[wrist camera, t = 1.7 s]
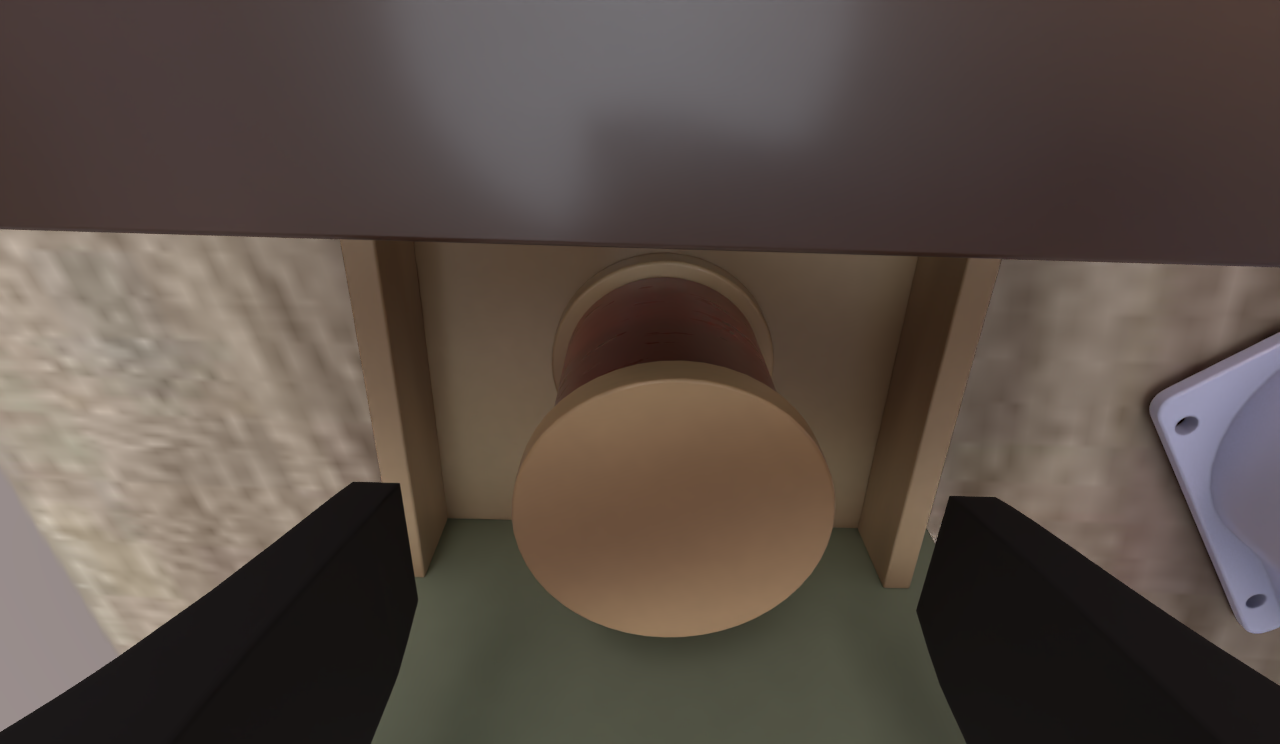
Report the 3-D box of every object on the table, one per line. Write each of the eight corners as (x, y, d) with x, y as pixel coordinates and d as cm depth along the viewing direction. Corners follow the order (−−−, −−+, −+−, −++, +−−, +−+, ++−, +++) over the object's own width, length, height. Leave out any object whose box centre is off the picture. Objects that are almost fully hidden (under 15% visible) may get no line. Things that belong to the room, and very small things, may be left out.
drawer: (872, 656, 20) (1005, 1011, 13) (415, 646, 20) (286, 1001, 13) (1052, -23, 12) (1658, -98, 5) (298, -50, 12) (-221, -169, 5)
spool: (808, 379, 15) (891, 553, 10) (636, 478, 16) (634, 678, 11) (693, 206, 13) (725, 313, 8) (510, 332, 14) (441, 490, 9)
